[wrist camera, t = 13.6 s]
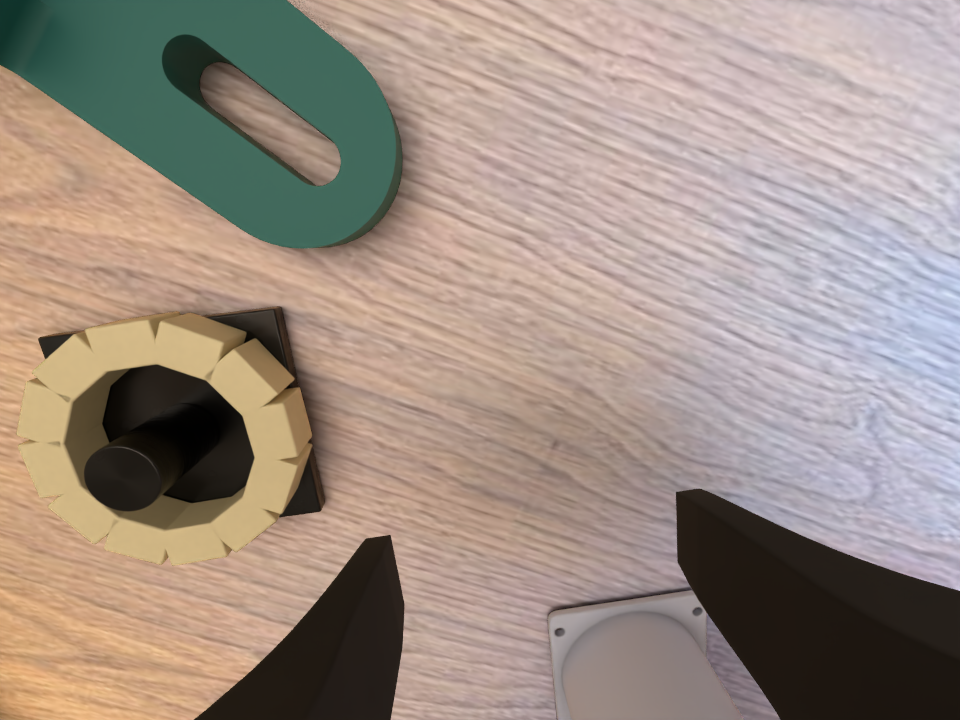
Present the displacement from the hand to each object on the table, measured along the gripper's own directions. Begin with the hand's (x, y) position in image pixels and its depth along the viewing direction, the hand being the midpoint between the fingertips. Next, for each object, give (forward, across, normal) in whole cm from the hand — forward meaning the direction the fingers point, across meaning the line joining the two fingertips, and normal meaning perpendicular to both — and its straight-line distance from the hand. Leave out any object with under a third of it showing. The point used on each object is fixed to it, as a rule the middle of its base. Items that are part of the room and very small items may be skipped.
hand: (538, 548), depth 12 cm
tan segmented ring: (+8, +13, -2) cm, 15 cm away
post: (+9, +13, -2) cm, 16 cm away
